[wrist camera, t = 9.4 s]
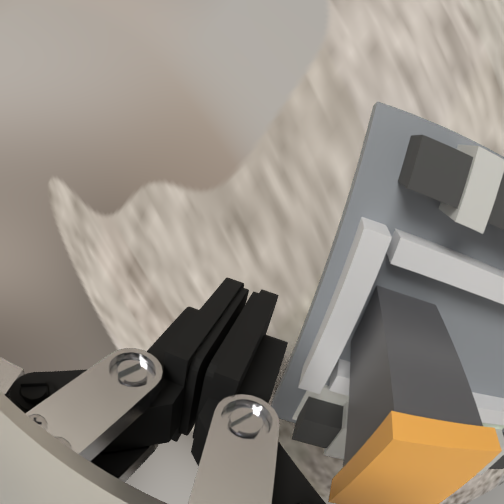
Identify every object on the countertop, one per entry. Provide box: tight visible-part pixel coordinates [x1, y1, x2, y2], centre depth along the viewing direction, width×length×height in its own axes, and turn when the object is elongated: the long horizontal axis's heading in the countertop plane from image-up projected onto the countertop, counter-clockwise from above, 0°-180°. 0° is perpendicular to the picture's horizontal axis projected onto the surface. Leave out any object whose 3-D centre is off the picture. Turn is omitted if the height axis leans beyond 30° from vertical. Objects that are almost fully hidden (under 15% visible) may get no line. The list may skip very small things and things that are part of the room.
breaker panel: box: [271, 102, 504, 432], centre depth 11 cm, size 16×18×3 cm
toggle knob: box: [329, 285, 502, 504], centre depth 9 cm, size 3×3×8 cm
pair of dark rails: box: [292, 135, 504, 475], centre depth 11 cm, size 15×15×2 cm
